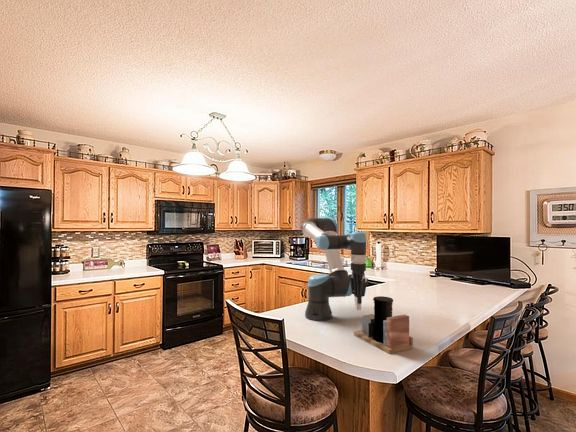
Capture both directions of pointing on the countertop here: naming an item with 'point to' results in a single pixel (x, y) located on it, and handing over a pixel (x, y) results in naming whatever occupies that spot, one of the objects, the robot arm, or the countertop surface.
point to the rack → (392, 335)
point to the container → (381, 315)
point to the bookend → (368, 324)
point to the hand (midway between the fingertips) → (358, 309)
